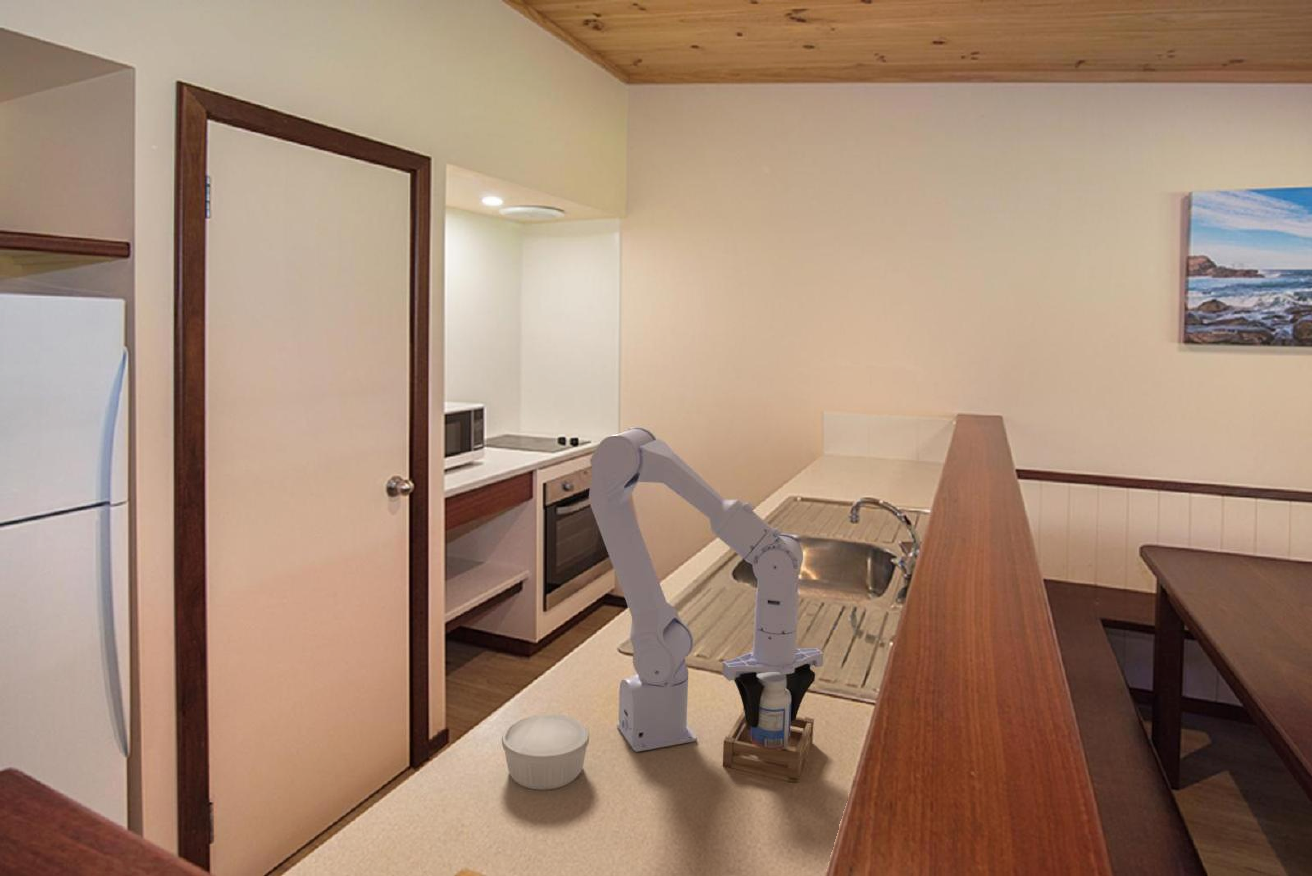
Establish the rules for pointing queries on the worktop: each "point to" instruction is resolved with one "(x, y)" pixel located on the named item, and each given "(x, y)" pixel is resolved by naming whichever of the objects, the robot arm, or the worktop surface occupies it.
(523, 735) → the ramekin
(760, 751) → the crate
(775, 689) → the pill bottle
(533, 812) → the worktop surface
